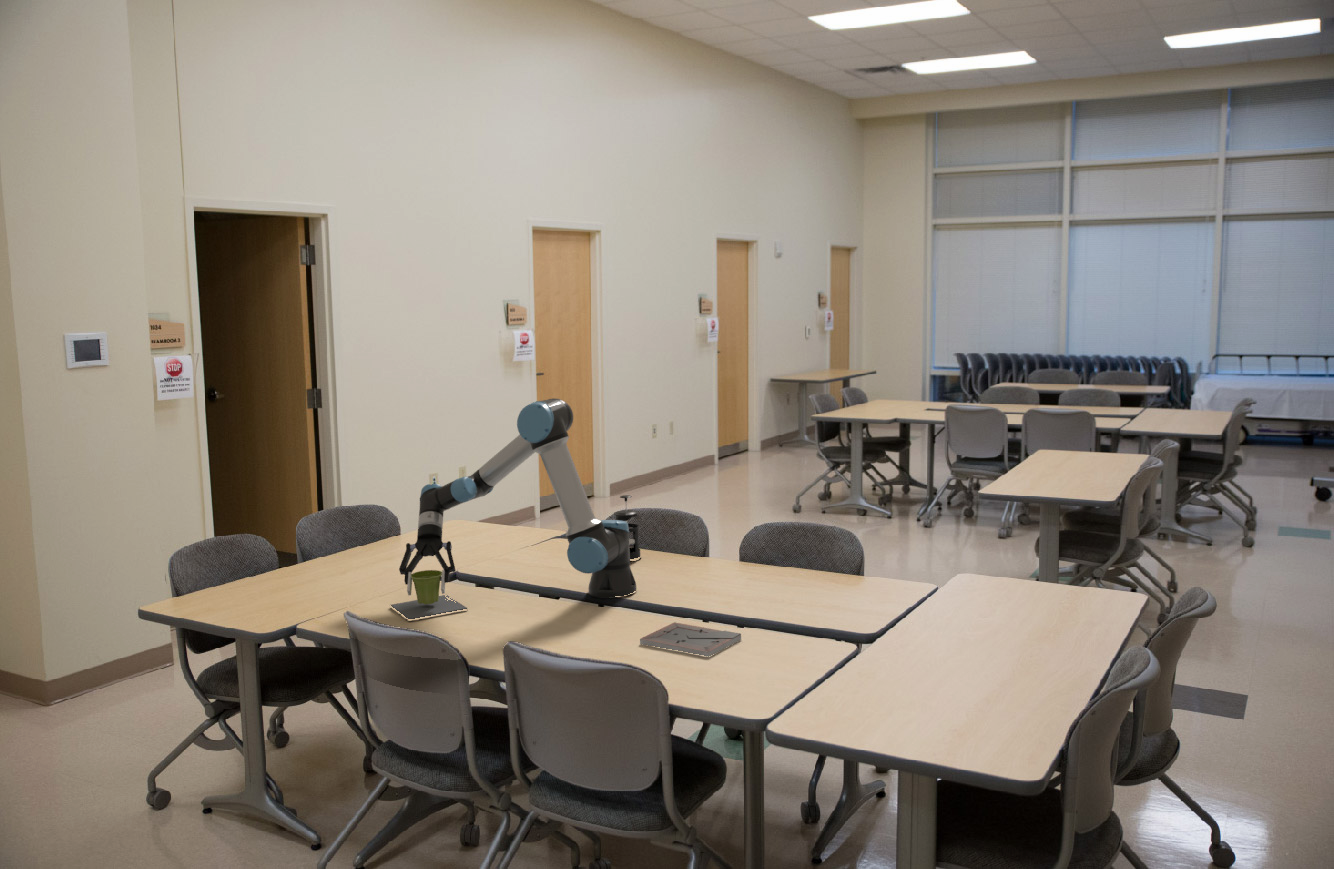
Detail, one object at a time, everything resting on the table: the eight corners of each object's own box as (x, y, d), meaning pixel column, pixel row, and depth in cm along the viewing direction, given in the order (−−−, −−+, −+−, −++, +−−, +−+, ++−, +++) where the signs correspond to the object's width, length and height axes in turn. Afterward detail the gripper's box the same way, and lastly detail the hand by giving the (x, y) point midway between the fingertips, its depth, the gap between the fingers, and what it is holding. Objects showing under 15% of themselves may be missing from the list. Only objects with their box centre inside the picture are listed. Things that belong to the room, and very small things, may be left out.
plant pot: (446, 603, 315) (444, 575, 314) (414, 607, 312) (412, 579, 311) (441, 596, 324) (439, 568, 323) (410, 600, 321) (408, 572, 320)
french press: (648, 558, 374) (645, 494, 371) (630, 563, 366) (628, 499, 363) (623, 554, 381) (620, 491, 378) (605, 559, 374) (603, 496, 371)
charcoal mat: (467, 611, 315) (467, 607, 315) (408, 622, 306) (408, 618, 306) (446, 597, 331) (446, 594, 330) (390, 607, 321) (390, 604, 321)
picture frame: (741, 642, 281) (674, 630, 293) (741, 633, 280) (674, 621, 293) (708, 660, 267) (640, 647, 279) (708, 651, 267) (639, 638, 279)
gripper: (392, 524, 324) (386, 588, 311) (464, 520, 326) (461, 584, 312) (396, 537, 330) (390, 600, 317) (467, 533, 332) (464, 596, 318)
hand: (425, 592), depth 314 cm, fingers closed on plant pot, 9 cm apart
